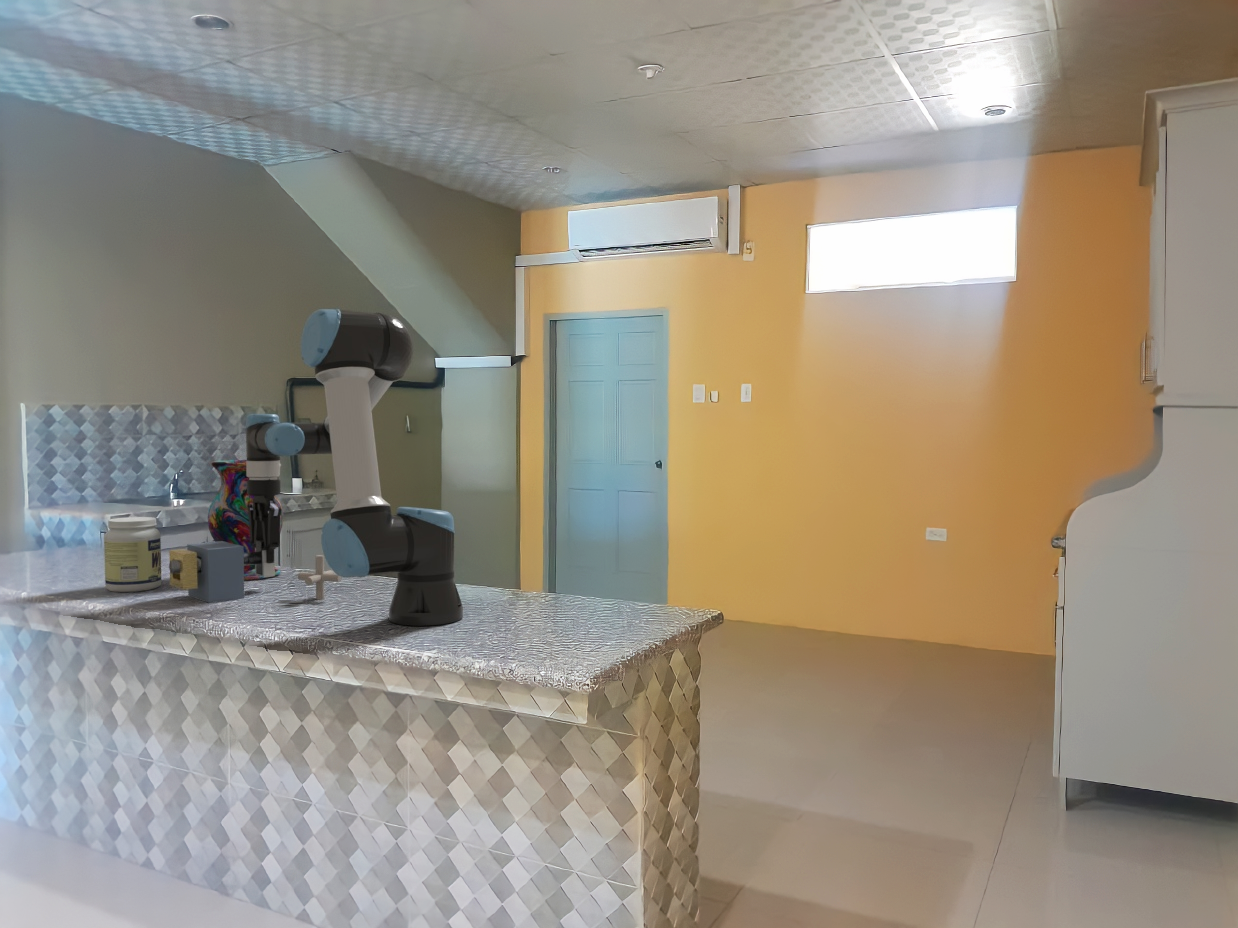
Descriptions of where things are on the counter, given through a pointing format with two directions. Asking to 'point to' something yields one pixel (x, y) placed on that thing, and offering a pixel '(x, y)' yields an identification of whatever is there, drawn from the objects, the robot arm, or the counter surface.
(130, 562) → the supplement tub
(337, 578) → the pipe connector
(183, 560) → the block
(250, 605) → the counter surface
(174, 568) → the shaft
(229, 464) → the vase
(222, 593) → the pillow block
